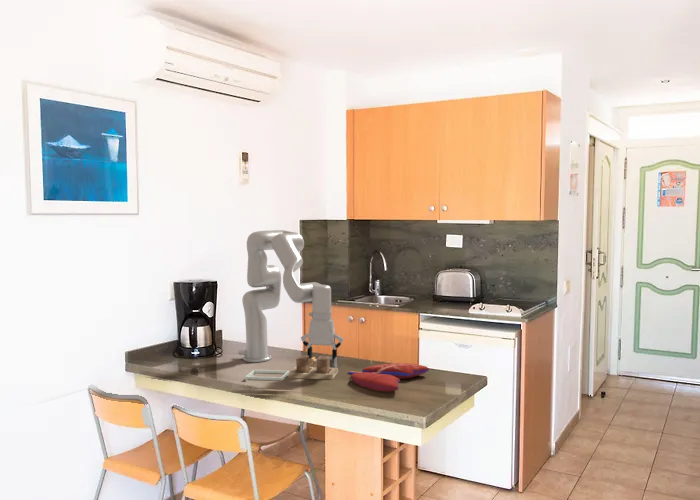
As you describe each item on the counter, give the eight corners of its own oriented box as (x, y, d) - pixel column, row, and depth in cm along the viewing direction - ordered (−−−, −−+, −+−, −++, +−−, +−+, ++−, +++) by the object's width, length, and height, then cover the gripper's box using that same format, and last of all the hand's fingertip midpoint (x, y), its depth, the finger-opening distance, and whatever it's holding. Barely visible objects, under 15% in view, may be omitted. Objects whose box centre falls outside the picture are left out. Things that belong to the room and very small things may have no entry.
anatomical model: (431, 381, 242) (365, 375, 258) (430, 363, 242) (365, 358, 258) (396, 395, 216) (326, 388, 232) (396, 375, 216) (326, 369, 232)
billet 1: (296, 376, 242) (296, 358, 241) (300, 372, 248) (300, 355, 247) (306, 376, 241) (305, 359, 241) (310, 372, 247) (309, 355, 246)
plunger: (311, 366, 252) (311, 359, 252) (313, 363, 256) (313, 356, 255) (322, 366, 251) (322, 359, 251) (324, 364, 255) (324, 357, 255)
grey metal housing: (320, 372, 251) (320, 359, 250) (323, 369, 256) (322, 356, 255) (334, 372, 250) (334, 359, 249) (337, 369, 255) (336, 356, 254)
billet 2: (317, 376, 240) (316, 359, 240) (320, 372, 246) (319, 355, 246) (326, 377, 239) (326, 359, 239) (330, 373, 245) (329, 355, 245)
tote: (245, 382, 240) (244, 376, 239) (254, 375, 250) (253, 369, 249) (282, 383, 237) (282, 377, 237) (289, 376, 247) (289, 370, 247)
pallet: (288, 380, 240) (288, 373, 240) (295, 373, 251) (295, 366, 251) (332, 382, 237) (332, 375, 236) (338, 374, 247) (338, 367, 247)
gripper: (298, 317, 239) (298, 359, 241) (341, 318, 236) (341, 361, 238) (303, 313, 247) (303, 354, 248) (345, 314, 243) (345, 356, 245)
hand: (322, 358), depth 243 cm, fingers open, 9 cm apart
